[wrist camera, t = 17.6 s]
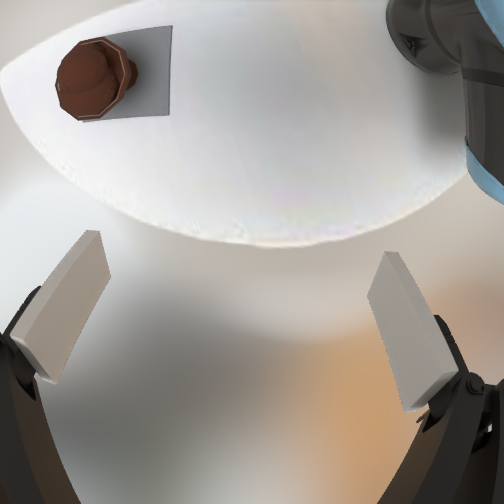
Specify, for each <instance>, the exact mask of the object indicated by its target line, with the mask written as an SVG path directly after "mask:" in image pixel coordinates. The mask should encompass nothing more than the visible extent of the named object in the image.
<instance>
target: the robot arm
mask: <svg viewBox="0 0 504 504" xmlns="http://www.w3.org/2000/svg"><path fill="white" fill-rule="evenodd" d="M386 19H387V25H388V29H389V32H390V35H391V37H392V39H393V41H394V43H395V45H396V46H397V48H398V49H399V51H400V52H401V53H402V54H403V55H404V56H405V57H406V58H407V59H408V60H409V61H410V62H411V63H412V64H414V65H415V66H417V67H418V68H420V69H422V70H424V71H427V72H430V73H435V74H453V73H456V72H458V71H460V70H462V77H463V88H464V100H465V120H466V136H465V146H466V152H467V169H468V172H469V173H470V175H471V177H472V179H473V181H474V182H475V183H476V184H477V186H478V187H479V188H480V189H481V190H483V191H484V192H485V193H486V194H487V195H489V196H490V197H492V198H493V199H495V200H496V201H498V202H500V203H501V204H503V205H504V0H390V1H389V4H388V7H387V12H386ZM110 278H111V275H110V271H109V267H108V263H107V260H106V256H105V252H104V248H103V244H102V240H101V235H100V231H91V230H86V232H85V233H84V234H83V235H82V236H81V237H80V239H79V240H78V241H77V242H76V243H75V244H74V246H73V247H72V248H71V249H70V250H69V252H68V253H67V254H66V255H65V257H64V258H63V259H62V260H61V262H60V263H59V264H58V265H57V267H56V268H55V269H54V271H53V272H52V273H51V274H50V276H49V277H48V278H47V280H46V281H45V282H44V284H43V285H42V286H38V287H37V288H36V289H34V290H33V291H32V292H31V293H30V294H29V295H28V297H27V298H26V300H25V301H24V303H23V304H22V306H21V307H20V309H19V310H18V311H17V313H16V314H15V316H14V317H13V319H12V320H11V322H10V323H9V325H8V327H7V328H6V330H5V331H4V333H3V334H1V333H0V504H81V503H80V501H79V499H78V497H77V495H76V493H75V491H74V489H73V487H72V485H71V483H70V480H69V478H68V476H67V474H66V471H65V469H64V467H63V465H62V462H61V460H60V457H59V454H58V452H57V449H56V447H55V444H54V441H53V438H52V435H51V432H50V429H49V426H48V423H47V420H46V416H45V413H44V410H43V406H42V402H41V398H40V394H39V391H38V386H37V382H36V380H35V378H34V374H35V372H37V373H38V374H39V375H40V377H41V378H42V379H43V380H45V381H48V382H50V383H53V384H57V383H58V380H59V378H60V376H61V373H62V371H63V369H64V366H65V365H66V362H67V360H68V358H69V356H70V354H71V352H72V349H73V347H74V345H75V343H76V341H77V339H78V337H79V335H80V333H81V331H82V329H83V327H84V325H85V324H86V322H87V320H88V318H89V316H90V314H91V312H92V310H93V308H94V307H95V305H96V303H97V301H98V299H99V297H100V296H101V294H102V292H103V290H104V289H105V287H106V285H107V283H108V282H109V280H110ZM367 297H368V300H369V303H370V305H371V308H372V311H373V313H374V316H375V319H376V322H377V325H378V328H379V331H380V334H381V336H382V340H383V343H384V346H385V349H386V352H387V355H388V358H389V362H390V365H391V368H392V371H393V374H394V378H395V381H396V385H397V389H398V392H399V396H400V399H401V403H402V407H403V411H404V413H406V412H412V411H417V410H420V409H421V408H422V407H423V406H425V405H426V404H427V403H428V405H429V408H430V409H429V410H428V411H427V412H425V413H424V414H423V415H422V416H421V417H420V418H418V420H417V421H416V422H417V423H419V422H420V421H421V420H422V419H423V421H422V423H421V425H420V428H419V430H418V432H417V434H416V436H415V438H414V440H413V442H412V444H411V447H410V449H409V450H408V453H407V454H406V456H405V458H404V460H403V462H402V463H401V465H400V467H399V469H398V471H397V472H396V474H395V476H394V478H393V479H392V481H391V483H390V484H389V486H388V487H387V489H386V491H385V492H384V494H383V495H382V497H381V498H380V500H379V501H378V503H377V504H504V379H503V380H501V381H500V382H499V383H498V384H497V385H489V384H485V383H484V381H483V380H482V378H481V377H479V376H478V375H477V374H475V373H472V372H470V373H469V371H468V369H467V366H466V364H465V362H464V360H463V357H462V355H461V353H460V351H459V349H458V346H457V344H456V343H455V340H454V338H453V336H452V335H451V332H450V330H449V328H448V326H447V324H446V323H445V322H444V321H443V319H442V318H441V317H440V316H439V315H433V314H432V312H431V310H430V308H429V306H428V304H427V302H426V300H425V299H424V297H423V295H422V293H421V291H420V289H419V287H418V286H417V284H416V282H415V280H414V279H413V277H412V275H411V273H410V272H409V270H408V268H407V267H406V265H405V263H404V261H403V260H402V258H401V257H400V255H399V253H398V252H386V251H384V254H383V256H382V259H381V262H380V264H379V267H378V270H377V272H376V275H375V277H374V280H373V282H372V286H371V288H370V290H369V292H368V295H367ZM491 424H492V431H490V432H488V427H489V426H490V425H491Z"/></svg>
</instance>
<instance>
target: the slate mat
mask: <svg viewBox="0 0 504 504" xmlns="http://www.w3.org/2000/svg"><path fill="white" fill-rule="evenodd" d="M104 37H105V38H106V39H108V40H110V41H111V42H113V43H115V44H116V45H118V46H119V47H121V48H122V49H124V50H125V51H126V54H127V58H128V59H129V60H131V61H132V62H134V63H135V64H136V67H137V70H138V76H137V79H136V82H135V85H133V86H132V87H131V88H130V89H128V90H127V91H126V92H125V95H124V98H123V99H122V100H121V101H120V102H119V103H118V104H116V105H115V106H114V107H113V108H112V109H111V110H110V111H109V112H107V113H106V114H105V115H104V116H103V117H102V118H100V119H90V120H83V122H91V121H99V120H108V119H118V118H129V117H144V116H165V115H169V91H170V59H171V40H172V26H162V27H154V28H146V29H140V30H134V31H128V32H123V33H117V34H113V35H108V36H104Z"/></svg>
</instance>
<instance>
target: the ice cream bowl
mask: <svg viewBox="0 0 504 504" xmlns="http://www.w3.org/2000/svg"><path fill="white" fill-rule="evenodd" d="M137 76H138V70H137V67H136V64H135V63H134V62H132V61H131V60H129V59H128V58H127V54H126V51H125V50H124V49H122V48H121V47H119V46H118V45H116V44H115V43H113V42H111V41H110V40H108V39H106V38H105V37H98V38H93V39H88V40H84V41H80V42H79V43H78V44H77V45H76V46H75V47H74V48H73V49H72V50H71V51H70V52H69V53H68V54H67V55H66V56H65V57H64V58H63V59H62V61H61V64H60V66H59V67H58V71H57V79H56V83H55V87H56V91H57V95H58V98H59V102H60V107H61V108H62V109H63V110H65V111H66V112H67V113H69V114H70V115H71V116H73V117H74V118H75V119H77V120H78V121H79V120H90V119H100V118H102V117H103V116H104V115H105V114H106V113H107V112H109V111H110V110H111V109H112V108H113V107H114V106H115V105H116V104H118V103H119V102H120V101H121V100H122V99H123V98H124V95H125V92H126V91H127V90H128V89H130V88H131V87H132V86H133V85H135V82H136V79H137Z"/></svg>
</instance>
